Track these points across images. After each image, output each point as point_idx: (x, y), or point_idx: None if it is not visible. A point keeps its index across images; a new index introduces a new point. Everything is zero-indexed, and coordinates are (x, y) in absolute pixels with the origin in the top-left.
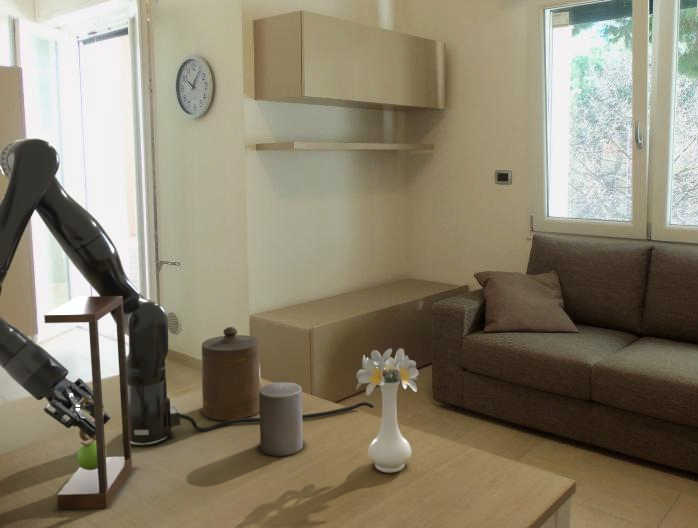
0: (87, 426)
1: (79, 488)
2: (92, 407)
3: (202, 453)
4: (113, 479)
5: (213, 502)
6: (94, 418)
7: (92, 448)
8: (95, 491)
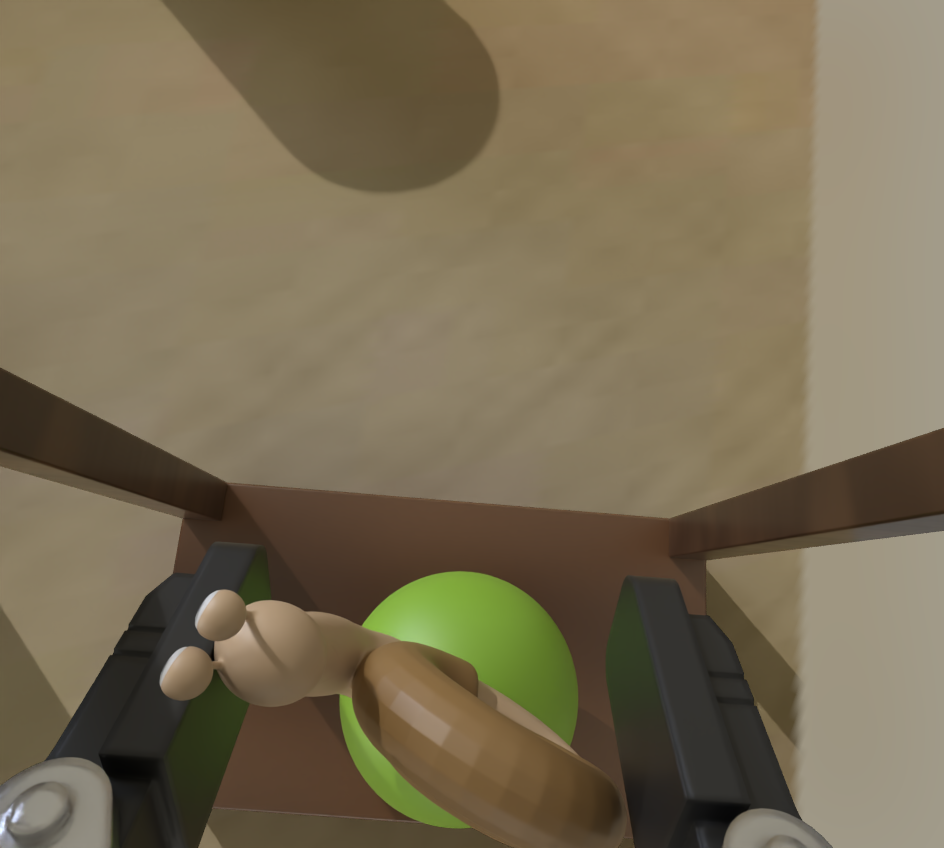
0: (756, 718)
1: None
2: (140, 839)
3: (100, 144)
4: (529, 517)
5: (656, 59)
6: (230, 756)
7: (535, 670)
8: (682, 590)
